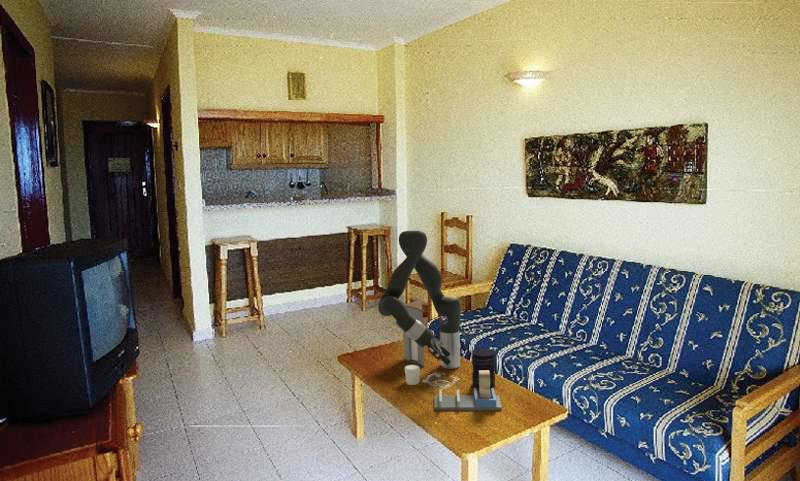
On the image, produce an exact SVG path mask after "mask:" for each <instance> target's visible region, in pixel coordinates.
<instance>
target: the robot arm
mask: <svg viewBox="0 0 800 481" xmlns="http://www.w3.org/2000/svg"><path fill="white" fill-rule="evenodd" d="M427 243H428V237H427V234H426V232H424V231H422V230H403V231H402V232H401V233H400V234H399V236H398V244H399V247H400V249H401V251H402V252H403V254H404V255H405V258H404V260H403V261H402V262H401V263H400V264H399V265H397V267H396V268H395V269H394V270H393V272H392V274H391V276H390V279H389V281H388V283H387V287H386V289H385V291H384V292H383V295H382V297H381V298H380V300H379V302H378V306H377V309H378V312H379V314H380V315H381V316H383V317H390V316H392V317H393V318H394V319H395V322H396V323H395V324H396V325H397V326H398V328H400V329H401V330H402V332H403V331H404V332H406V333H407V335H408V336H409V337H410V338H411V339H413V340H414V341H415V342H416V343H417V344H418V345H419V346H420V347H425V346H426V347H427V351H428V352H429V354H431V355H432V356H433V357H434V358H435V359H437V360H436V361H440V366H441V367H442V368H443V369H448V370H450V369H451V370H452V369H457V368H460V366H461V349H460V348H461V346H460V345H461V344H460V343H461V342H460V341H461V340H460V338H461V337H460V327H461V319H462V318H461V316H462V315H461V313H462V312H461V311H462V308H461V307H462V306H461V301H460V299H458V298H457V297H456V298H455V297H451V296H450V297H449V296H446V295H444V293H443V292H442V290H441V288H442V284H443V277H442V274H441V272H440V270H439V268H438V266H437V265H436V264H435V262H434V261H432V260H431V259H430V258H428V257H427V256H425V255H424V254H423V253H424V251H425V250H426V248H427ZM413 270H415V272H416V273H417V275H418V278H419V279H420V281H421V283H422V285H423V286H424V288H425V289H426V291H427V294H428V295H429V297H430V299H431V302H432V305H433V307H434V309H435V311H436V313H437V314H438V315H439V316H441V317H447V321H445V322H443V323H441V324H440V325H439V339H438V338H436V336H435V335H434V332H433V331H431V330H430V328H429V327H427V326H426V325H425V324H424V322H423V323H421V322H420V321H419V320H417V319H416V318H415V317H414V316H413V315H412V314H410V313H409V312H408V310H407V309H406V308H405V306H404V303H403V302H402V301H401V300H400V298H401V296H402V295H403V294H404V292H405V289H406V286H407V284H408V281H409V279H410V277H411V274H412V272H413Z"/></svg>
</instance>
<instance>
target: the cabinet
mask: <svg viewBox="0 0 800 481" xmlns="http://www.w3.org/2000/svg"><path fill="white" fill-rule="evenodd" d="M403 305H404V306H405V308H406V309H407V310H408V312H409V313H410V314H412V315H413V316H414V317H415V318H416V319H417V320H419V321H420V322H421V323H423V324H424V320H423V316H424V314H423V303H422V298H418V299H417V300H415V301H411V302H408V303H405V304H404V303H403ZM402 335H403V340H402V341H403V361H406V362H407V361H408V362H411V363H413V364H415V365H419V366H420V368H423V367H425V349H424V347H425V346H424V347H420V346H419V345H418V344H417V343H416V342H415V341H414V340H413V339H411V338H410V337H409V336H408V335H407V333H406V332H404V331H403V330H402Z"/></svg>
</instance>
